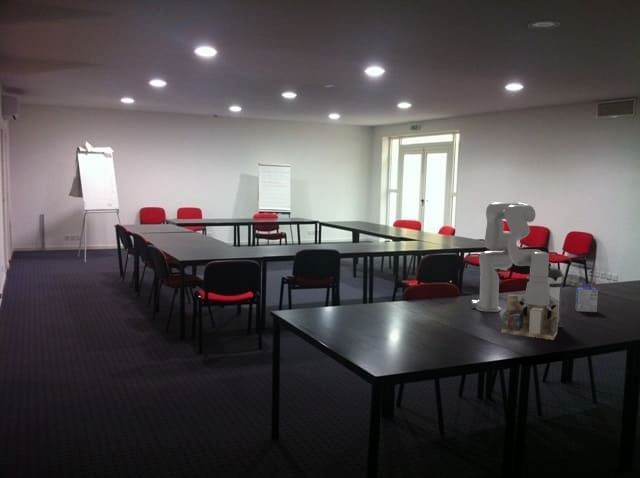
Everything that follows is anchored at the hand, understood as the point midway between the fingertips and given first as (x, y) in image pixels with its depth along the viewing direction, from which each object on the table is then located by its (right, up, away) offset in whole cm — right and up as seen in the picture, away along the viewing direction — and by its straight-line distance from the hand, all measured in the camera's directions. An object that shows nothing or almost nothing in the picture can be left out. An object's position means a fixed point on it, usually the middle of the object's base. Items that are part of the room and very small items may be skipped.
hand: (536, 317), depth 242 cm
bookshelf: (-2, -7, +3) cm, 8 cm away
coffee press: (+11, -6, +19) cm, 23 cm away
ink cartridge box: (+45, -3, +47) cm, 65 cm away
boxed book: (0, -6, +1) cm, 6 cm away
